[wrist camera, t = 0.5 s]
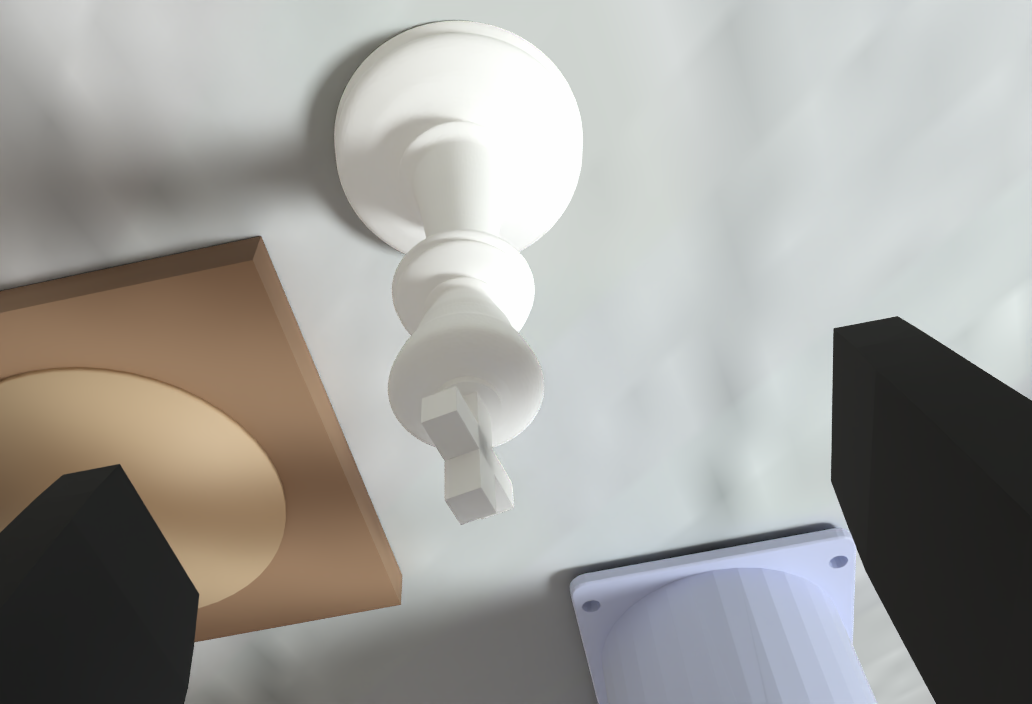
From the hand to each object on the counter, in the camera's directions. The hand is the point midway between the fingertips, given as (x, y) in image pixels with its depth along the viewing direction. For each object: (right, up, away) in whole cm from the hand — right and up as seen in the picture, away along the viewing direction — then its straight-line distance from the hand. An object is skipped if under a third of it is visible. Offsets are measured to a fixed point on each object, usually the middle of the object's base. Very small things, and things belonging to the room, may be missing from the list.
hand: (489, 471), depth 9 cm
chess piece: (-1, +5, +9) cm, 11 cm away
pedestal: (-9, -2, +13) cm, 16 cm away
